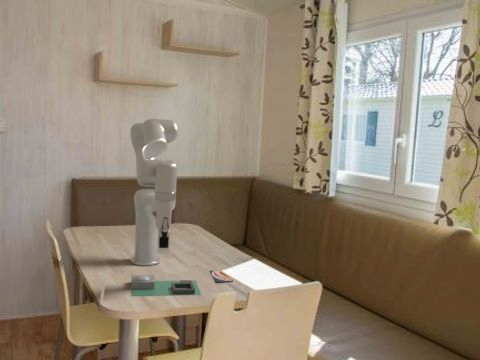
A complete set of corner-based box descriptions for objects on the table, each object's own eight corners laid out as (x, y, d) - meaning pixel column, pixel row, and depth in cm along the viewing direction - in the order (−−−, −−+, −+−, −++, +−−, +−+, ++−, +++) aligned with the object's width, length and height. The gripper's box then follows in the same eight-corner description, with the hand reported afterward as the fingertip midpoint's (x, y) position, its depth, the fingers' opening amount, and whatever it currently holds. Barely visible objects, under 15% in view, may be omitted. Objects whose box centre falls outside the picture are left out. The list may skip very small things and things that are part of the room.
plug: (157, 250, 184) (158, 228, 183) (168, 250, 185) (168, 229, 184) (157, 253, 180) (158, 231, 179) (168, 253, 181) (169, 231, 180)
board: (131, 284, 185) (131, 273, 185) (195, 283, 190) (196, 273, 190) (131, 299, 170) (131, 288, 169) (201, 298, 175) (201, 287, 174)
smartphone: (219, 269, 209) (234, 280, 195) (219, 271, 209) (233, 283, 195) (203, 270, 205) (216, 282, 192) (202, 272, 206) (216, 284, 192)
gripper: (153, 192, 187) (151, 240, 190) (155, 200, 171) (153, 252, 173) (173, 192, 189) (171, 240, 191) (177, 200, 173) (175, 252, 175)
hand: (163, 245), depth 182 cm, fingers closed on plug, 4 cm apart
